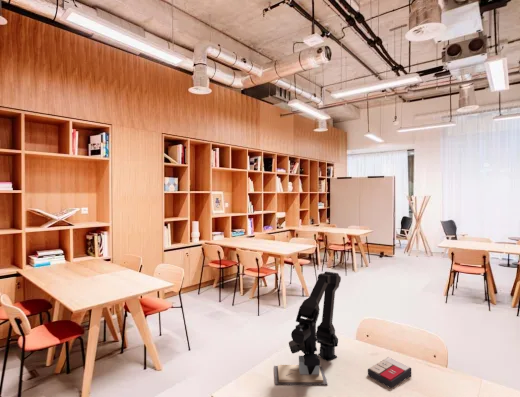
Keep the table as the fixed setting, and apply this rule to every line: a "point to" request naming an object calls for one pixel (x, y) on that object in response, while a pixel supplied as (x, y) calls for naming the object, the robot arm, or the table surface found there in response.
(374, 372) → the black red beige box
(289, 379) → the board
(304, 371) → the block
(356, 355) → the table surface
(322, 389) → the table surface
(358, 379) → the table surface
